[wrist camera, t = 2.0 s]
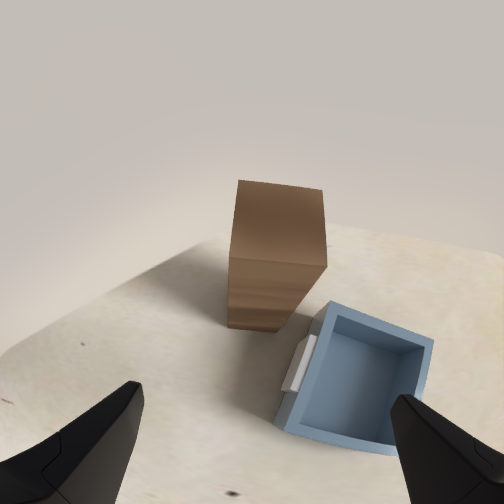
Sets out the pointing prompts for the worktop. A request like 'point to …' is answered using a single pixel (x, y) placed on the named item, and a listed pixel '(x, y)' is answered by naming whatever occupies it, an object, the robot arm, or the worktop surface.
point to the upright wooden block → (273, 253)
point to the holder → (351, 379)
